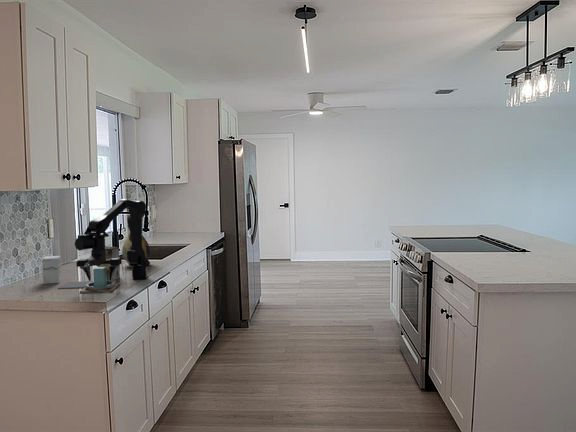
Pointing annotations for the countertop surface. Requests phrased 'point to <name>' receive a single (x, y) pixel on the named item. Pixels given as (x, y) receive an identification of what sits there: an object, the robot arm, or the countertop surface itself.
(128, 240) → the ceramic jug
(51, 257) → the supplement box
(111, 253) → the coffee box
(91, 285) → the metal ring
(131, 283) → the countertop surface
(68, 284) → the charcoal mat
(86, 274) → the robot arm
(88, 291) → the walnut stand
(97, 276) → the teal post
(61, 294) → the countertop surface
